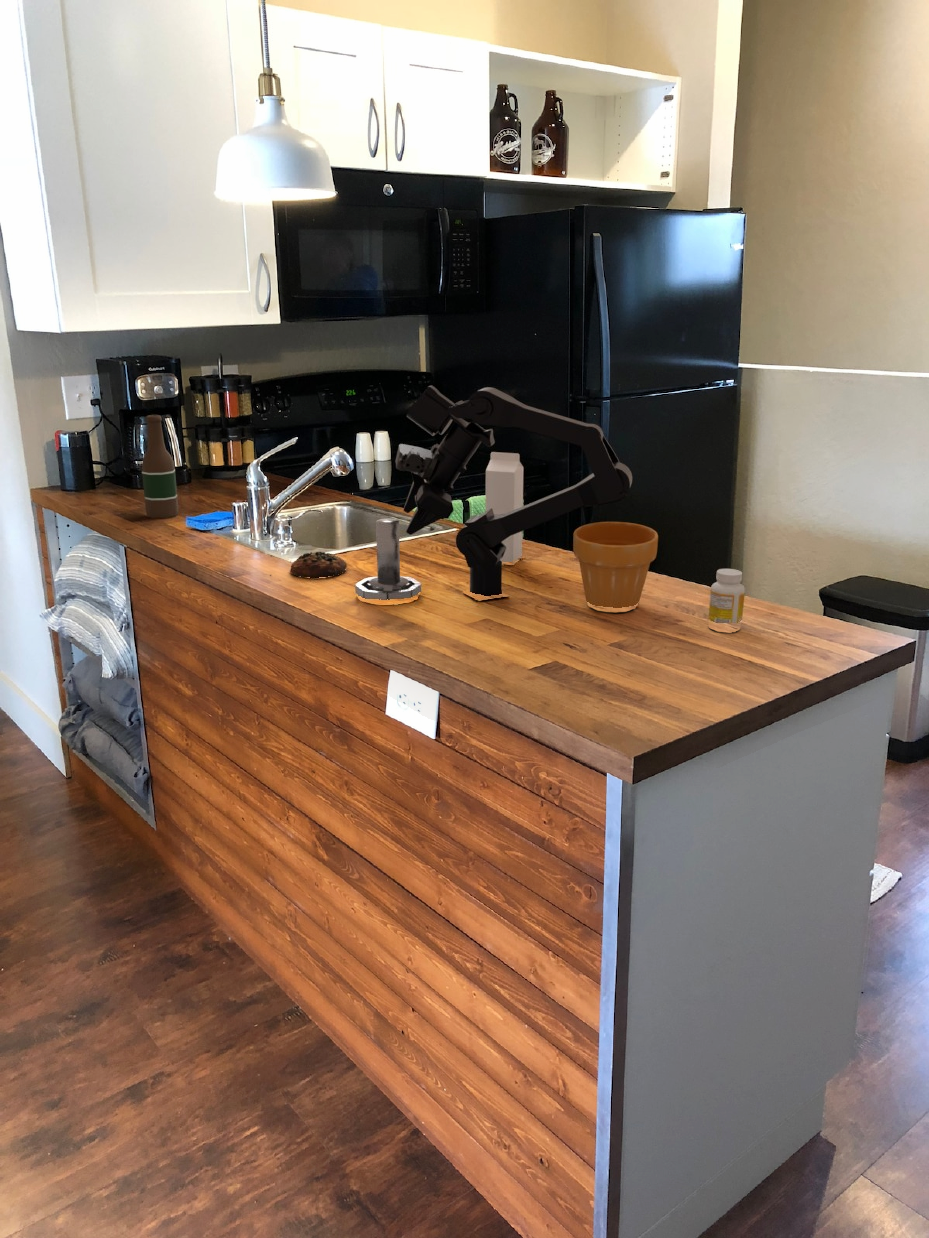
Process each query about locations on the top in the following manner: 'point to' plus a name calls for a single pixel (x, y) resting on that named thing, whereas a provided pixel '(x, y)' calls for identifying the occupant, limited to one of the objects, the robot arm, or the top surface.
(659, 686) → the top surface
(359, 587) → the grey octagonal ring
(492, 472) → the milk
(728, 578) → the supplement bottle
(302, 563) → the bread roll
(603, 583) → the flower pot
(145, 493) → the beer bottle
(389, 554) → the grey cylinder with base
